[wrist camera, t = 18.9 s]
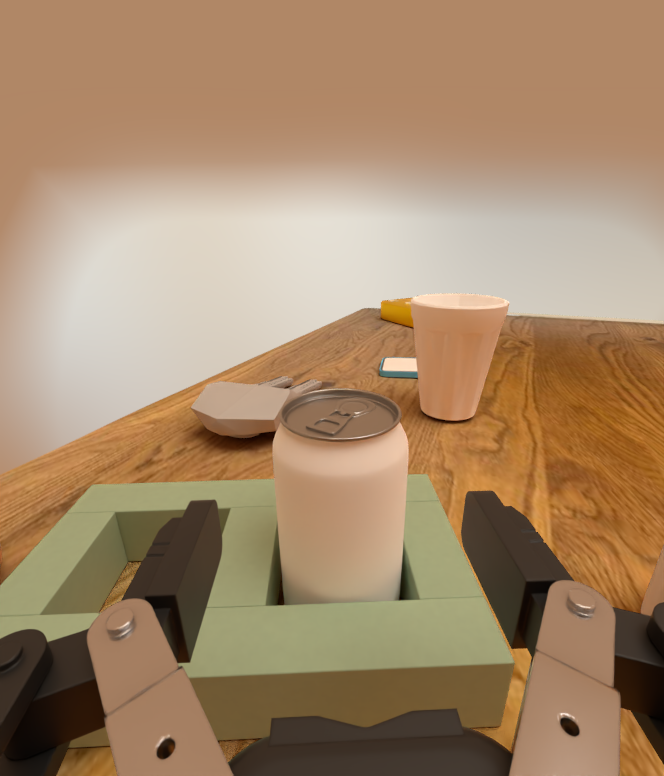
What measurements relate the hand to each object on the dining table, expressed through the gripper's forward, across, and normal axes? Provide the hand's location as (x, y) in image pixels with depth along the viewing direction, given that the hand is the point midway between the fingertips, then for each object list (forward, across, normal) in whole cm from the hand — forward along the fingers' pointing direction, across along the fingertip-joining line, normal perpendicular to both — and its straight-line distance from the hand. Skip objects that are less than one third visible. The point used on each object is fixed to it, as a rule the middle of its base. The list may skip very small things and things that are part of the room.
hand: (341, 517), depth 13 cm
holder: (+6, +5, +11) cm, 14 cm away
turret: (+32, +7, +11) cm, 35 cm away
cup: (+31, -14, +11) cm, 36 cm away
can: (+6, 0, +11) cm, 13 cm away
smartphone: (+46, -16, +11) cm, 50 cm away
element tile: (+85, -25, +11) cm, 89 cm away
